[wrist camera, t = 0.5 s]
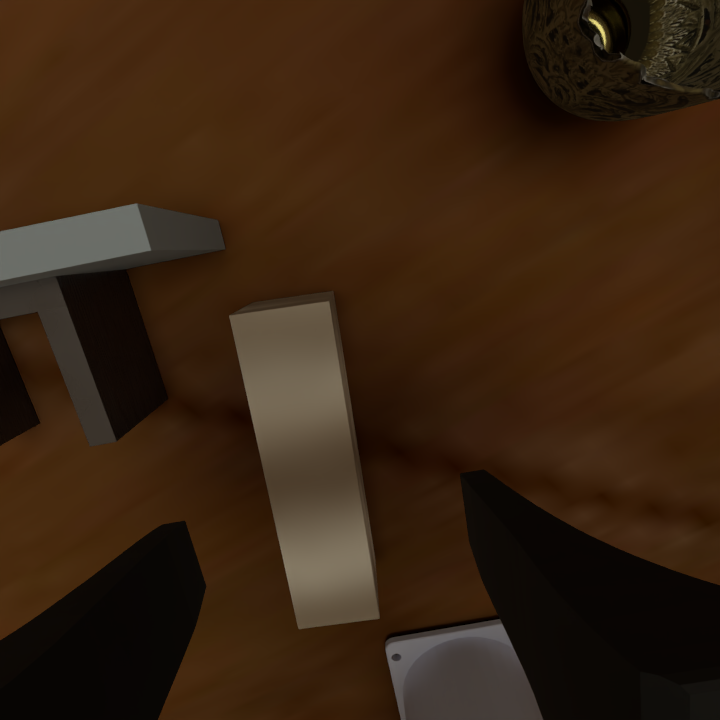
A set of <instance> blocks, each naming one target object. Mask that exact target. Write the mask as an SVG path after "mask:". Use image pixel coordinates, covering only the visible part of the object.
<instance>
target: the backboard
mask: <svg viewBox="0 0 720 720" xmlns="http://www.w3.org/2000/svg"><path fill="white" fill-rule="evenodd" d="M224 249H225V245H224V241H223V237H222V233H221V230H220V226H219V222H218V220H215V219H210V218H205V217H200V216H195V215H190V214H186V213H181V212H176V211H171V210H166V209H161V208H156V207H151V206H146V205H141V204H132V205H128V206H123V207H118V208H113V209H108V210H103V211H98V212H93V213H89V214H84V215H79V216H74V217H69V218H64V219H59V220H54V221H49V222H45V223H40V224H35V225H30V226H25V227H20V228H15V229H10V230H5V231H1V232H0V287H3V286H8V285H13V284H18V283H23V282H28V281H33V280H38V279H43V278H48V277H53V276H61V275H71V274H82V273H92V272H102V271H113V270H123V269H129V268H134V267H139V266H144V265H149V264H154V263H159V262H164V261H169V260H174V259H179V258H184V257H189V256H194V255H199V254H204V253H209V252H214V251H219V250H224Z"/></svg>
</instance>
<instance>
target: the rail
mask: <svg viewBox="0 0 720 720" xmlns="http://www.w3.org/2000/svg"><path fill="white" fill-rule="evenodd" d="M229 317H230V322H231V326H232V331H233V335H234V340H235V344H236V349H237V353H238V358H239V363H240V367H241V372H242V376H243V381H244V385H245V390H246V394H247V399H248V403H249V408H250V412H251V417H252V421H253V426H254V430H255V435H256V439H257V444H258V448H259V453H260V457H261V462H262V466H263V471H264V476H265V480H266V485H267V489H268V494H269V498H270V503H271V507H272V512H273V516H274V521H275V525H276V530H277V534H278V539H279V543H280V548H281V552H282V557H283V561H284V566H285V570H286V575H287V579H288V584H289V589H290V593H291V598H292V602H293V607H294V611H295V616H296V620H297V625H298V629H303V628H311V627H319V626H326V625H334V624H342V623H349V622H357V621H365V620H373V619H380V616H379V602H378V589H377V575H376V562H375V554H374V547H373V541H372V535H371V528H370V522H369V515H368V509H367V503H366V496H365V490H364V483H363V477H362V470H361V464H360V458H359V451H358V445H357V438H356V432H355V426H354V419H353V413H352V406H351V400H350V394H349V387H348V381H347V374H346V368H345V362H344V355H343V349H342V342H341V336H340V330H339V323H338V317H337V310H336V304H335V298H334V291H329V292H322V293H315V294H308V295H301V296H295V297H288V298H281V299H274V300H267V301H260V302H253V303H251V304H249V305H247V306H245V307H244V308H242V309H240V310H238V311H236V312H235V313H233V314H231V315H229Z"/></svg>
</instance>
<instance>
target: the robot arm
mask: <svg viewBox="0 0 720 720" xmlns="http://www.w3.org/2000/svg"><path fill="white" fill-rule="evenodd" d="M460 477H461V484H462V492H463V499H464V506H465V514H466V521H467V528H468V536H469V542H470V546H471V549H472V552H473V555H474V558H475V561H476V564H477V567H478V570H479V573H480V576H481V579H482V581H483V583H484V586H485V588H486V590H487V592H488V594H489V596H490V599H491V601H492V603H493V605H494V607H495V609H496V612H497V614H498V616H499V618H500V619H497V620H491V621H485V622H479V623H474V624H468V625H462V626H456V627H450V628H444V629H438V630H433V631H427V632H421V633H415V634H409V635H403V636H397V637H392V638H389V639H388V640H387V641H386V643H385V649H386V655H387V659H388V664H389V668H390V673H391V677H392V682H393V686H394V691H395V695H396V700H397V704H398V709H399V713H400V717H401V720H720V585H717V584H713V583H710V582H707V581H703V580H700V579H697V578H694V577H691V576H688V575H685V574H682V573H679V572H676V571H673V570H671V569H668V568H665V567H663V566H660V565H657V564H655V563H652V562H650V561H647V560H644V559H642V558H639V557H636V556H634V555H632V554H629V553H627V552H625V551H622V550H620V549H618V548H615V547H613V546H611V545H609V544H607V543H605V542H603V541H600V540H598V539H596V538H594V537H592V536H590V535H588V534H586V533H584V532H582V531H580V530H578V529H576V528H574V527H572V526H571V525H569V524H567V523H565V522H563V521H562V520H560V519H558V518H556V517H555V516H553V515H551V514H549V513H548V512H546V511H545V510H543V509H541V508H540V507H538V506H536V505H535V504H533V503H532V502H530V501H529V500H527V499H526V498H524V497H523V496H521V495H520V494H518V493H517V492H515V491H514V490H512V489H511V488H509V487H508V486H507V485H505V484H504V483H502V482H501V481H499V480H498V479H497V478H495V477H494V476H492V475H491V474H490V473H488V472H487V471H485V470H478V471H473V472H467V473H461V474H460ZM205 589H206V584H205V581H204V578H203V575H202V572H201V569H200V565H199V562H198V559H197V556H196V553H195V550H194V547H193V544H192V541H191V538H190V535H189V532H188V528H187V525H186V522H185V521H181V522H175V523H169V524H163V525H161V526H159V527H158V528H156V529H155V530H153V531H152V532H150V533H149V534H147V535H146V536H144V537H143V538H142V539H140V540H139V541H138V542H136V543H135V544H134V545H132V546H131V547H130V548H128V549H127V550H126V551H124V552H123V553H122V554H121V555H119V556H118V557H117V558H115V559H114V560H113V561H111V562H110V563H109V564H108V565H106V566H105V567H104V568H102V569H101V570H100V571H98V572H97V573H96V574H94V575H93V576H92V577H91V578H89V579H88V580H87V581H85V582H84V583H83V584H81V585H80V586H78V587H77V588H76V589H74V590H73V591H72V592H70V593H69V594H67V595H66V596H65V597H63V598H62V599H61V600H59V601H58V602H56V603H55V604H54V605H52V606H51V607H50V608H48V609H47V610H45V611H44V612H43V613H41V614H40V615H38V616H37V617H35V618H34V619H33V620H31V621H30V622H28V623H27V624H25V625H24V626H22V627H21V628H19V629H18V630H16V631H15V632H13V633H11V634H10V635H8V636H7V637H5V638H4V639H2V640H0V720H158V718H159V715H160V713H161V710H162V708H163V706H164V703H165V701H166V698H167V696H168V693H169V691H170V689H171V686H172V684H173V681H174V679H175V676H176V674H177V672H178V669H179V667H180V664H181V662H182V659H183V657H184V654H185V652H186V649H187V647H188V644H189V642H190V639H191V637H192V634H193V632H194V629H195V626H196V623H197V619H198V616H199V612H200V609H201V605H202V601H203V597H204V593H205ZM394 654H397V655H394Z"/></svg>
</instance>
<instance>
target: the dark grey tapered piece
mask: <svg viewBox="0 0 720 720" xmlns="http://www.w3.org/2000/svg"><path fill="white" fill-rule="evenodd" d="M522 33H523V45H524V51H525V56H526V59H527V63H528V66H529V69H530V71H531V73H532V76H533V78H534V79H535V81H536V83H537V85H538V86H539V87H540V89H541V90H542V92H543V93H544V94H545V95H546V96H547V97H548V98H549V99H550V100H551V101H552V102H553V103H555V104H556V105H557V106H558V107H560V108H562V109H563V110H565V111H567V112H569V113H571V114H574V115H576V116H578V117H582V118H585V119H589V120H595V121H623V120H631V119H638V118H643V117H648V116H652V115H657V114H662V113H666V112H670V111H674V110H678V109H682V108H686V107H690V106H694V105H697V104H701V103H705V102H709V101H713V100H717V99H720V0H524V6H523V15H522Z"/></svg>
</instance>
